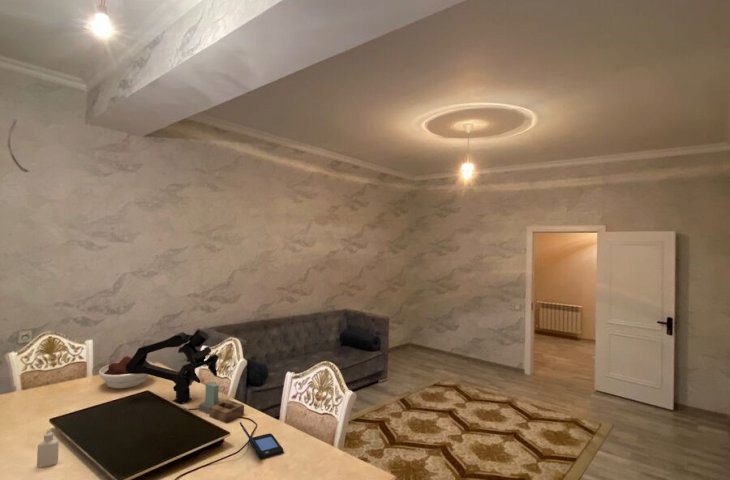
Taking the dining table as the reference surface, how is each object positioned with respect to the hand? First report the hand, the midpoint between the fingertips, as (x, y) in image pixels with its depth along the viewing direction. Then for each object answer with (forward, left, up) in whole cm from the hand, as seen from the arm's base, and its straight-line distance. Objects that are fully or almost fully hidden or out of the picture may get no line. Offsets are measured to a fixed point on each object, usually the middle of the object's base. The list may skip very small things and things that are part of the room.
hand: (208, 379), depth 182 cm
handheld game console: (+47, -12, -14) cm, 50 cm away
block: (+4, -1, -11) cm, 11 cm away
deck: (+4, -1, -14) cm, 14 cm away
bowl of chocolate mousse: (-58, -6, -14) cm, 60 cm away
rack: (+14, -1, -14) cm, 20 cm away
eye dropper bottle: (-7, -60, -14) cm, 62 cm away
